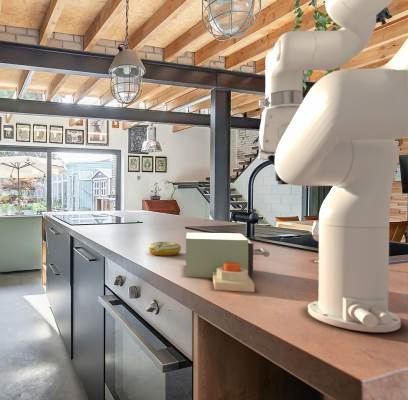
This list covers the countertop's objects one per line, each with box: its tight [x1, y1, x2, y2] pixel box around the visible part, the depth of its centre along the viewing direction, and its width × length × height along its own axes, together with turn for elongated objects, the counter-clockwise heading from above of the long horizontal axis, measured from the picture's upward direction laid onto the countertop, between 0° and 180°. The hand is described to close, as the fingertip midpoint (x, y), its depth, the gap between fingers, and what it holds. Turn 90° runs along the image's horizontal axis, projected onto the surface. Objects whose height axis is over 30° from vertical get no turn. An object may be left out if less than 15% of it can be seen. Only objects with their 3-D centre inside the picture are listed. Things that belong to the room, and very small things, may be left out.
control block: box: [211, 267, 255, 293], centre depth 80 cm, size 10×8×4 cm
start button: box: [224, 262, 240, 272], centre depth 80 cm, size 4×4×2 cm
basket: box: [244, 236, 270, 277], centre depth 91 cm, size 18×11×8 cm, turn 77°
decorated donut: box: [148, 240, 182, 257], centre depth 120 cm, size 10×11×4 cm
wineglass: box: [311, 220, 319, 264], centre depth 104 cm, size 6×6×12 cm
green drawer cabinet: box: [185, 232, 249, 279], centre depth 92 cm, size 15×13×10 cm
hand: (283, 184), depth 80 cm, fingers closed
